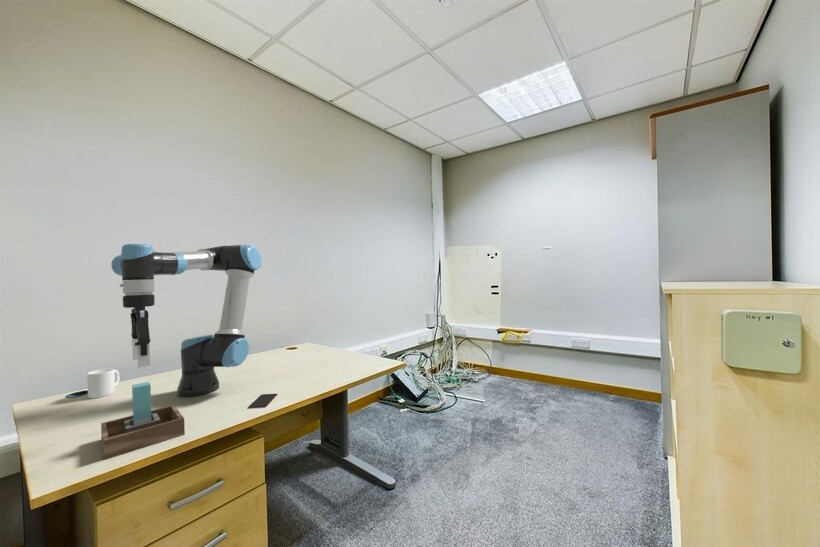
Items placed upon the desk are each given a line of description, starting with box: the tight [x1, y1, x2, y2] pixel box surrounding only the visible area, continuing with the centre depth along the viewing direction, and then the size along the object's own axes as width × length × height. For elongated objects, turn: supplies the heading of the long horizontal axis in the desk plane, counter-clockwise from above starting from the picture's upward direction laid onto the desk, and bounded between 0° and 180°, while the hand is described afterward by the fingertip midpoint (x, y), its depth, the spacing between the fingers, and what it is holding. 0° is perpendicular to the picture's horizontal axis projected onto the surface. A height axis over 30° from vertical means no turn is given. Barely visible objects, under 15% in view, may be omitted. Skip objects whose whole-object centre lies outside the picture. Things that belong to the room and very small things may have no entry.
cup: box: [86, 367, 120, 399], centre depth 139 cm, size 8×12×10 cm
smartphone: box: [247, 393, 278, 410], centre depth 124 cm, size 7×1×14 cm
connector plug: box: [131, 381, 152, 426], centre depth 100 cm, size 4×4×14 cm
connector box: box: [100, 404, 186, 460], centre depth 98 cm, size 16×18×5 cm
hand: (141, 362), depth 100 cm, fingers open, 13 cm apart
